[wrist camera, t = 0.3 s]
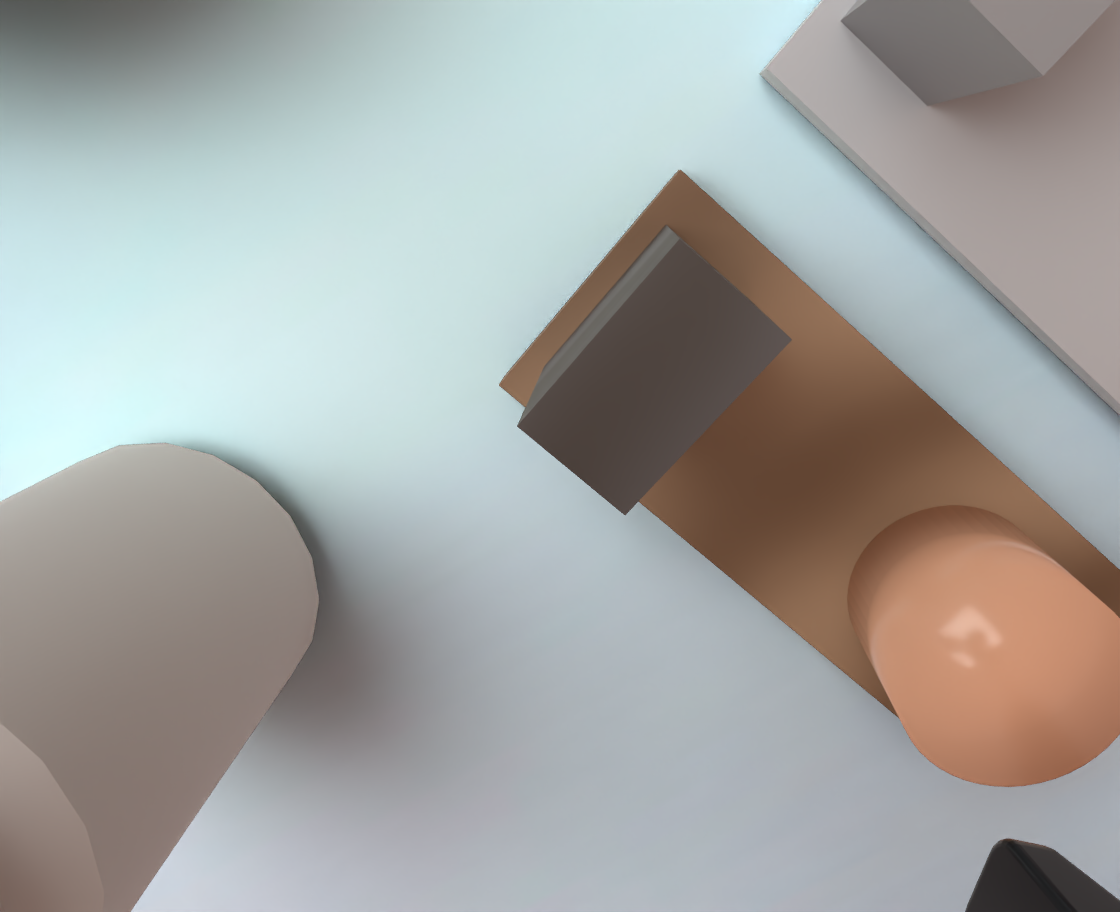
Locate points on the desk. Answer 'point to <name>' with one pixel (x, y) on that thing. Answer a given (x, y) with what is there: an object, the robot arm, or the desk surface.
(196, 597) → the can
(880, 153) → the grey strip
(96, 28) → the desk surface
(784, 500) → the walnut strip
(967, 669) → the peach rounded knob
